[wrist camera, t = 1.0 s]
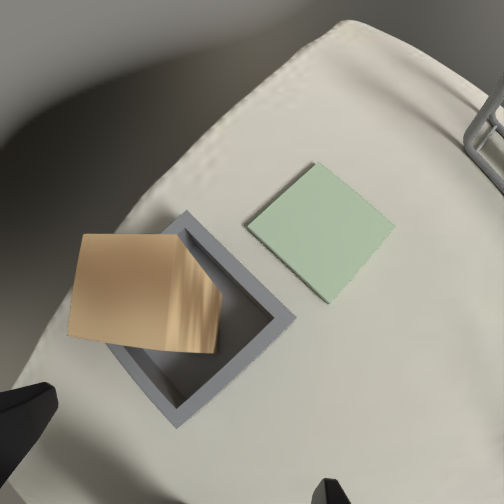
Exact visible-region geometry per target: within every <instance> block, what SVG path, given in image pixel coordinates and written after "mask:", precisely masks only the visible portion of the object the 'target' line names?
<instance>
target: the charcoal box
mask: <svg viewBox="0 0 504 504" xmlns="http://www.w3.org/2000/svg"><path fill="white" fill-rule="evenodd" d="M161 234H177V236H178V237H179V238H180V240H181V241H182V242H183V244H184V245H185V246H186V248H187V249H188V250H189V252H190V253H191V254H192V256H193V257H194V258H195V260H196V261H197V262H198V264H199V265H200V266H201V267H202V269H203V270H204V271H205V273H206V274H207V275H208V277H209V278H210V279H211V280H212V282H213V283H214V284H215V286H216V287H217V288H218V289H219V291H220V292H221V293H222V307H221V323H220V339H219V354H218V353H192V352H174V351H161V350H153V349H145V348H138V347H131V346H124V345H117V344H111V343H106V344H107V346H108V347H109V349H110V350H111V351H112V353H113V354H114V355H115V357H116V358H117V359H118V361H119V362H120V363H121V365H122V366H123V367H124V368H125V370H126V371H127V372H128V374H129V375H130V376H131V377H132V379H133V380H134V381H135V382H136V384H137V385H138V386H139V387H140V388H141V390H142V391H143V392H144V393H145V394H146V396H147V397H148V398H149V399H150V400H151V401H152V403H153V404H154V405H155V406H156V407H157V408H158V409H159V410H160V412H161V413H162V414H163V415H164V416H165V417H166V418H167V419H168V420H169V421H170V423H171V424H172V425H173V426H174V427H175V428H176V429H177V428H178V427H180V426H181V425H182V424H184V423H185V422H186V421H188V420H189V419H191V418H192V417H193V416H194V415H195V414H196V413H198V412H199V411H200V410H201V409H202V408H203V407H204V406H206V405H207V404H208V403H209V402H210V401H211V400H212V399H214V398H215V397H216V396H217V395H218V394H219V393H220V392H221V391H222V390H224V389H225V388H226V387H227V386H228V385H229V384H230V383H231V382H232V381H233V380H235V379H236V378H237V377H238V376H239V375H240V374H241V373H242V372H243V371H244V370H245V369H246V368H247V367H248V366H250V365H251V364H252V363H253V362H254V361H255V360H256V359H257V358H258V357H259V356H260V355H261V354H262V353H263V352H264V351H265V350H266V349H267V348H268V347H269V346H270V345H271V344H272V343H273V342H274V341H275V340H276V339H277V338H278V337H279V336H281V335H282V334H283V333H284V332H285V331H286V330H287V329H288V327H289V326H290V325H291V324H292V323H293V322H294V321H295V319H296V318H297V317H296V316H295V315H294V314H293V313H291V312H290V311H289V310H288V309H287V308H286V307H285V306H284V305H283V304H282V303H281V302H280V301H279V300H278V299H277V298H276V297H275V296H274V295H273V294H272V293H271V292H270V291H269V290H268V289H267V288H266V287H265V286H264V285H263V284H261V283H260V282H259V281H258V280H257V279H256V278H255V277H254V276H253V275H252V274H251V273H250V272H249V271H248V270H247V269H246V268H245V267H244V266H243V265H242V264H241V263H240V262H239V261H238V260H237V259H236V258H235V257H234V256H233V255H232V254H231V253H230V252H229V251H228V250H227V249H226V248H225V247H224V246H223V245H222V244H221V243H220V242H219V241H218V240H217V239H216V238H215V237H214V236H213V235H211V234H210V233H209V232H208V231H207V230H206V229H205V228H204V227H203V226H202V225H201V224H200V223H199V222H198V221H197V220H196V219H195V218H194V217H193V216H192V215H191V214H190V213H189V212H188V211H187V210H186V211H185V212H184V213H183V214H181V215H180V216H179V217H178V218H177V219H176V220H175V221H174V222H173V223H172V224H170V225H169V226H168V227H167V228H166V229H165V230H164V231H163V232H162V233H161Z"/></svg>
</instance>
